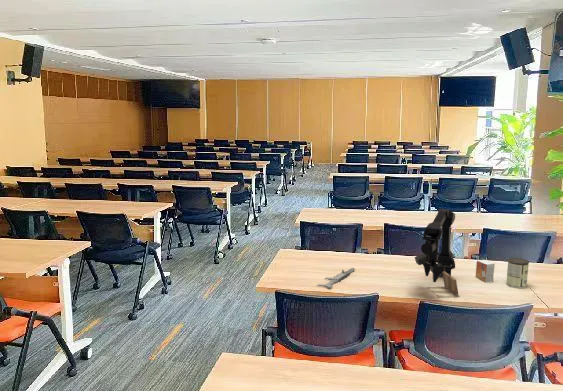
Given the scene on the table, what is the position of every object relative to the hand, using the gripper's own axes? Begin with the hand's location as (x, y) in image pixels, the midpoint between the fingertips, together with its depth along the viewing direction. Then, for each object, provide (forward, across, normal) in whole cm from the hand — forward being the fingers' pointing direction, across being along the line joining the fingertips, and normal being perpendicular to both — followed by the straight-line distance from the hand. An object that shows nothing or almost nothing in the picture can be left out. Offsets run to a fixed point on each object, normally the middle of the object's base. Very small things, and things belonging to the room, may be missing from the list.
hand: (430, 279), depth 251 cm
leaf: (+3, 0, +12) cm, 12 cm away
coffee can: (+8, -8, +53) cm, 54 cm away
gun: (+9, -30, -42) cm, 52 cm away
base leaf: (+8, 0, +7) cm, 11 cm away
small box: (+8, -18, +40) cm, 44 cm away
